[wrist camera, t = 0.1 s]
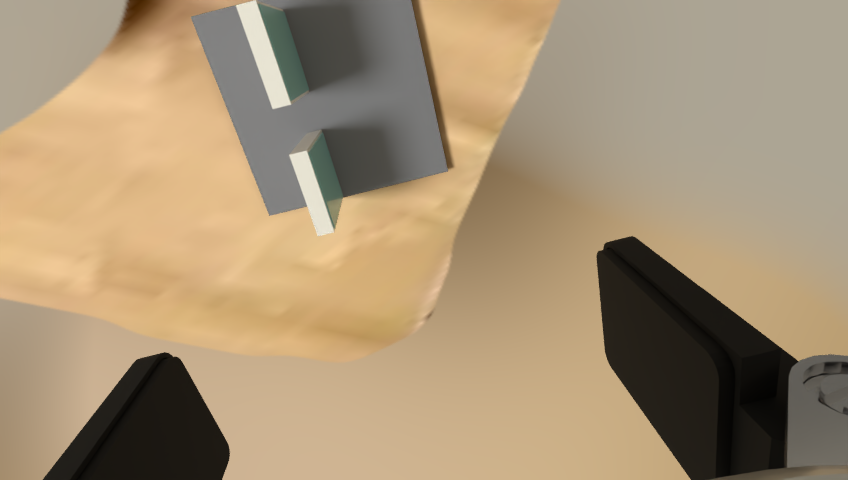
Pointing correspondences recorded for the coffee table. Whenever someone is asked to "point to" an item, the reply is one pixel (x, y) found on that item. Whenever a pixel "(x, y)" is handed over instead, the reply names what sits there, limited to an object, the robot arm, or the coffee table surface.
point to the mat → (332, 96)
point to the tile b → (318, 181)
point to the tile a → (274, 52)
